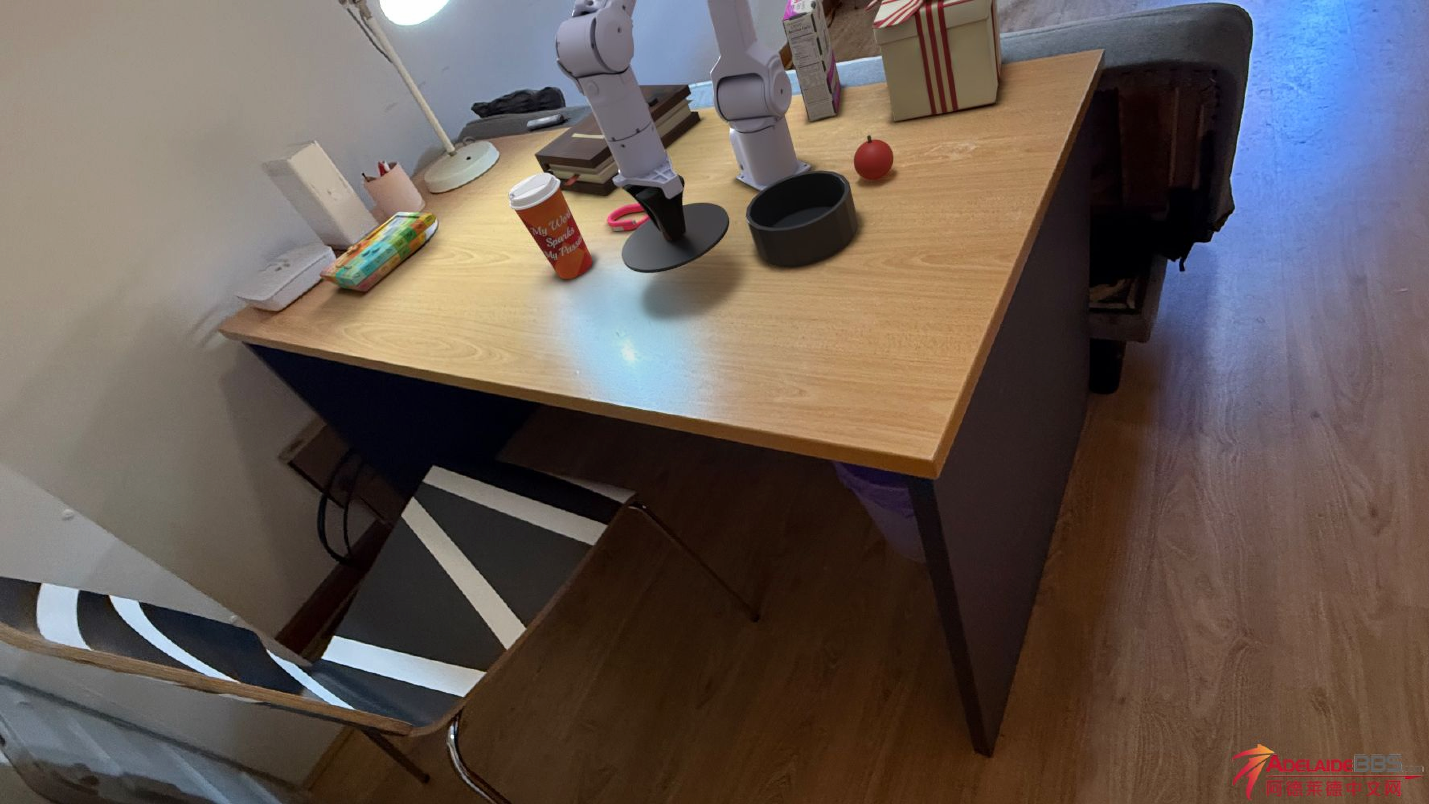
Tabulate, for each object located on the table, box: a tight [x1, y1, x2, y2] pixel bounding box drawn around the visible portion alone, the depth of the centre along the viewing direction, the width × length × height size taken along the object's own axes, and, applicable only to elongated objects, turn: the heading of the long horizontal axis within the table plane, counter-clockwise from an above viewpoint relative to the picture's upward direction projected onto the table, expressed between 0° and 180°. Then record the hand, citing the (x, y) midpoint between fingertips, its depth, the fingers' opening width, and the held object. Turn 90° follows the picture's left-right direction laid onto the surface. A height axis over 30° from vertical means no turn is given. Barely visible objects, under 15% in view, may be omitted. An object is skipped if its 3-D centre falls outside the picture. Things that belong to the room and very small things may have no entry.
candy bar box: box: [781, 0, 842, 123], centre depth 114 cm, size 11×5×16 cm, turn 168°
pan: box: [745, 169, 859, 269], centre depth 91 cm, size 13×13×6 cm
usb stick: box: [526, 113, 565, 131], centre depth 160 cm, size 10×3×2 cm, turn 70°
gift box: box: [862, 0, 1003, 123], centre depth 102 cm, size 17×18×17 cm
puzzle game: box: [318, 211, 437, 293], centre depth 133 cm, size 12×5×20 cm
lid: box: [621, 202, 731, 274], centre depth 88 cm, size 14×14×5 cm
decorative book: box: [533, 84, 702, 197], centre depth 130 cm, size 19×8×30 cm
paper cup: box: [507, 172, 593, 280], centre depth 103 cm, size 8×8×14 cm
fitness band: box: [606, 202, 650, 232], centre depth 112 cm, size 8×6×2 cm
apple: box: [853, 134, 895, 181], centre depth 95 cm, size 5×5×6 cm
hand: (672, 231), depth 89 cm, fingers closed on lid, 2 cm apart
